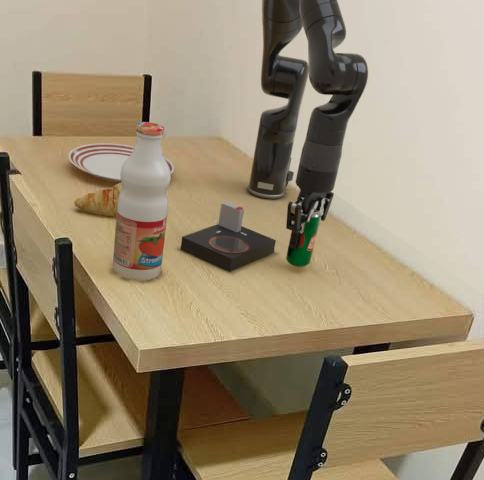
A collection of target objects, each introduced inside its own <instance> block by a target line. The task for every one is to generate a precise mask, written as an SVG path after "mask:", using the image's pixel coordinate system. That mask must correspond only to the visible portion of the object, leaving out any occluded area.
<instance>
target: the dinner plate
mask: <svg viewBox="0 0 484 480" xmlns="http://www.w3.org/2000/svg"><path fill="white" fill-rule="evenodd" d="M134 147H135V146H132V145H128V144H127V145H126V144H120V143H109V142H108V143H107V142H106V143H105V142H104V143H102V142H101V143H100V142H99V143H88V144H84V145H79V146H77V147H75V148H73V149H72V150H70V151H69V152H68V154H67V158H68V160H69V161H70V164H72V165H73V166H74V167H76V168H77V169H79V170H80V171H82V172H84V173H86V174H88V175H90V176H92V177H95V178H97V179H99V180H103V181H106V182H111V183H115V184H118V183H121V176H120V174H121V168H122V166H123V164H124V162H125V161H126V160H127V159H128V158H129V157H130V156H131V154H132V152H133V150H134ZM164 159H165V161H166V163H167V165H168V166H169V168H170V172H171V175H173V174H174V172H175V165H174V163H173V162H172V161H171V160H170V159H169V158H167V157H165V156H164Z"/></svg>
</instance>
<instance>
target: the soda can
mask: <svg viewBox="0 0 484 480" xmlns="http://www.w3.org/2000/svg"><path fill="white" fill-rule="evenodd" d="M301 216H302V217H306V216H307V215H305V214H303V213H301ZM320 218H321V213H320V209H319V210H318V208H317V209H316V210H314V212H313V215H312V217H311V219H310V222H309V223H306V226H305V229H304V231H303V237H302V242H301V246H300V249H298V250H295V249H292V248H290V247H289V245H287V250H286V255H285V259H286V261H287V263H288V264H289V265H291V266H293V267H298V268H303V267H307V266H309V265H310V264H311V261H312V257H313V253H314V248H315V243H316V239H317V234H318V231H319V227H320V225H319V222H320ZM301 224H302V221H301V222H300V226H301ZM291 234H292V231H290V235H289V236H290V237H289V241H288V244H289V243H290V239H291Z"/></svg>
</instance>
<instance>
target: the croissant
mask: <svg viewBox="0 0 484 480" xmlns="http://www.w3.org/2000/svg"><path fill="white" fill-rule="evenodd" d="M121 190H122V183H115V184H114V185H113V186H112V187H111V186H109V187H103V188H101V189H100V190H99V191H96V192H91V193H87V194H85V195H84V196H83V197H81V198H75V200H73V201H74V202H73V203H74V206H75V207H76V208H77V209H79V210H81V211H84V212H89V213H92V214H97V215H102V216H107V217H112V218H116V216H117V204H118V197H119V194H120V192H121Z"/></svg>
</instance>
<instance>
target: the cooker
mask: <svg viewBox="0 0 484 480" xmlns="http://www.w3.org/2000/svg"><path fill="white" fill-rule="evenodd" d="M212 223H215V224H214V225H211V226H209V227H206V228H203V229H200V230H197V231H194V232H192V233H188V234H186V235H184V236H181V243H180V251H182V252H184V253H187V254H189V255H190V256H193V257H196V258H197V259H199V260H202V261H204V262H206V263H208V264H210V265H213V266H214V267H217V268H220V269H221V270H224V271H226V272H228V273H231V272H233V271H235V270H238V269H240V268H243V267H244V266H247V265H249V264H252V263H254V262H256V261H258V260H260V259H263V258H265V257H268V256H270V255H272V254H274V252H275V248H276V244H277V243H276V242H277V240H276V239H274V238H272V237H269V236H267V235H264V234H263V233H259V232H257V231H254V230H253V229H250V228H247V227H245V226H243V225H242V226H241V231H239V232H234V231H232V230H229V229H227V228H224V227H222V226H220V225H218V223H219V221H216V220H212ZM217 236H229V237H234V238H238V239H240V240H243V241H244V242H246V243H247V244H248V245H249V249H248V251H246V252H244V253H238V254H232V253H225V252H221V251H218V250H216V249H214V248H212V247H211V246H210V245H209V240H210V239H211V238H213V237H217Z"/></svg>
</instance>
